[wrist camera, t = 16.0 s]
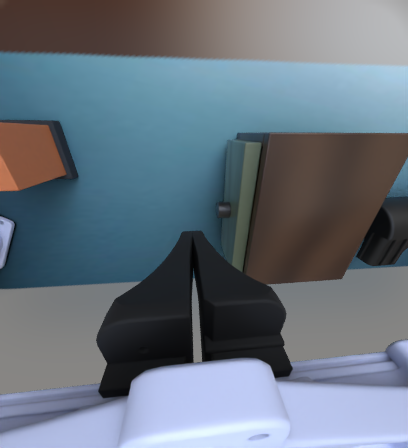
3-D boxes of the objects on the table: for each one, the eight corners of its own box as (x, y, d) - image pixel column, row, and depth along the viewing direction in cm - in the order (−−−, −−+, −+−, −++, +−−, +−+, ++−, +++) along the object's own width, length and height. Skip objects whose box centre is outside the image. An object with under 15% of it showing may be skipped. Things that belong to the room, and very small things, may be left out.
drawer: (211, 244, 22) (219, 277, 17) (215, 139, 16) (227, 142, 11) (288, 240, 23) (317, 270, 18) (318, 139, 17) (372, 142, 12)
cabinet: (227, 243, 24) (244, 286, 17) (237, 133, 17) (269, 132, 10) (299, 239, 24) (342, 279, 18) (334, 133, 18) (421, 133, 11)
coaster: (27, 177, 17) (18, 179, 16) (-1, 120, 15) (-12, 119, 14) (78, 176, 18) (73, 178, 17) (59, 121, 15) (51, 120, 14)
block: (20, 175, 16) (-48, 192, 12) (-5, 124, 14) (-100, 120, 10) (66, 174, 17) (19, 190, 12) (48, 125, 15) (-18, 121, 10)
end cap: (416, 186, 22) (501, 206, 16) (389, 232, 25) (451, 263, 19) (344, 190, 21) (405, 212, 15) (327, 237, 25) (371, 270, 19)
